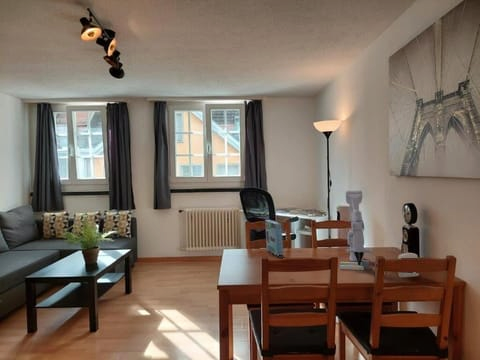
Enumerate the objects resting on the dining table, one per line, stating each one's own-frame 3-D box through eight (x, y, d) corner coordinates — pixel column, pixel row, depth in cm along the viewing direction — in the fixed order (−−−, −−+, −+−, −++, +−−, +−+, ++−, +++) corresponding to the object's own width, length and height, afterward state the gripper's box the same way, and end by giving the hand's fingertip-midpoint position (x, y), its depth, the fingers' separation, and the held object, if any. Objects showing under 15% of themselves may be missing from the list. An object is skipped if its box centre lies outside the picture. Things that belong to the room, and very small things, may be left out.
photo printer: (401, 278, 176) (400, 254, 175) (397, 275, 180) (396, 252, 180) (420, 276, 177) (419, 253, 176) (415, 274, 181) (414, 251, 181)
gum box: (283, 256, 231) (281, 223, 231) (276, 257, 230) (275, 223, 229) (272, 250, 250) (271, 219, 249) (266, 250, 248) (264, 220, 248)
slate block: (361, 266, 198) (361, 260, 198) (368, 267, 197) (368, 260, 197) (362, 268, 194) (361, 262, 194) (369, 269, 193) (369, 262, 193)
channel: (340, 265, 204) (339, 261, 204) (362, 265, 200) (362, 262, 200) (339, 269, 196) (339, 265, 196) (363, 270, 192) (363, 266, 192)
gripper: (345, 243, 195) (346, 266, 195) (372, 243, 190) (373, 267, 191) (345, 240, 201) (346, 263, 202) (371, 240, 197) (372, 263, 197)
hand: (359, 264), depth 197 cm, fingers closed
